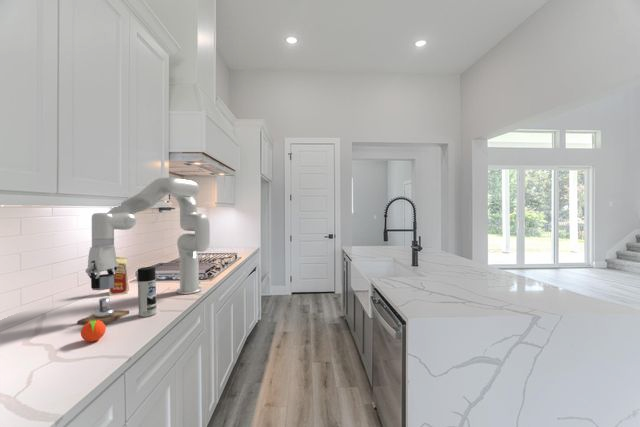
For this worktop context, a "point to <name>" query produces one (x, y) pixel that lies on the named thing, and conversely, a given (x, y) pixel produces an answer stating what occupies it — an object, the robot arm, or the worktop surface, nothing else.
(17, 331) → the worktop surface
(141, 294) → the spray can
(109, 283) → the octagonal pot
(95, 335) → the clementine
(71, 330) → the worktop surface
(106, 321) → the base plate
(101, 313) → the grey rounded fixture
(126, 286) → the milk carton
